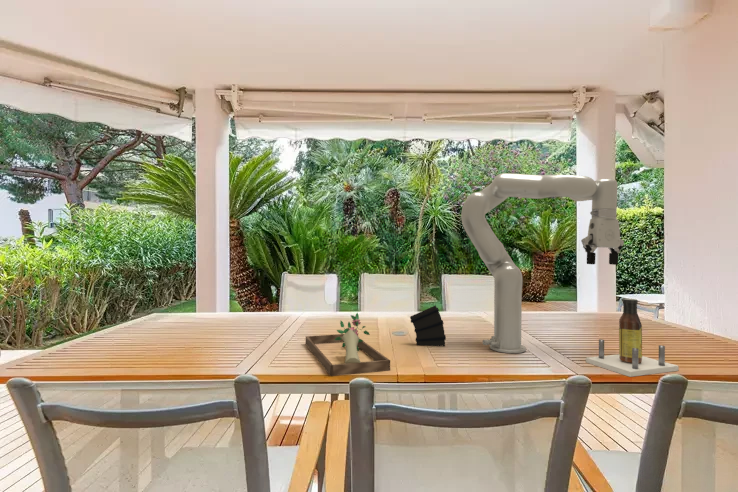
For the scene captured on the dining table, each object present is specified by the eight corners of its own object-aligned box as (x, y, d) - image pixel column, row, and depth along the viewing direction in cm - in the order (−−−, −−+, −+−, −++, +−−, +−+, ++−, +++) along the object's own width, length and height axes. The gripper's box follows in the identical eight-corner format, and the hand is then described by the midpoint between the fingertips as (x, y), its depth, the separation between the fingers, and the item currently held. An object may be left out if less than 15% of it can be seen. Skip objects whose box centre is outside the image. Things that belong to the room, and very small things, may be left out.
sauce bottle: (646, 364, 131) (648, 300, 130) (627, 364, 130) (629, 300, 130) (631, 358, 137) (633, 297, 137) (613, 358, 137) (615, 297, 136)
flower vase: (341, 395, 127) (339, 343, 161) (380, 383, 127) (370, 334, 161) (329, 361, 124) (330, 315, 158) (369, 349, 124) (361, 306, 158)
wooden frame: (330, 376, 122) (330, 365, 122) (305, 344, 160) (305, 336, 160) (390, 370, 128) (390, 360, 128) (352, 340, 166) (352, 333, 166)
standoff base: (630, 376, 123) (630, 351, 123) (585, 362, 138) (585, 339, 138) (678, 370, 129) (678, 346, 129) (631, 357, 144) (631, 335, 144)
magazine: (453, 342, 157) (436, 306, 158) (421, 356, 159) (405, 320, 160) (453, 340, 161) (436, 304, 162) (421, 353, 163) (405, 318, 163)
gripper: (592, 213, 140) (590, 264, 140) (632, 215, 145) (631, 265, 145) (575, 214, 147) (573, 263, 147) (614, 216, 152) (613, 264, 152)
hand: (602, 264), depth 146 cm, fingers open, 9 cm apart
